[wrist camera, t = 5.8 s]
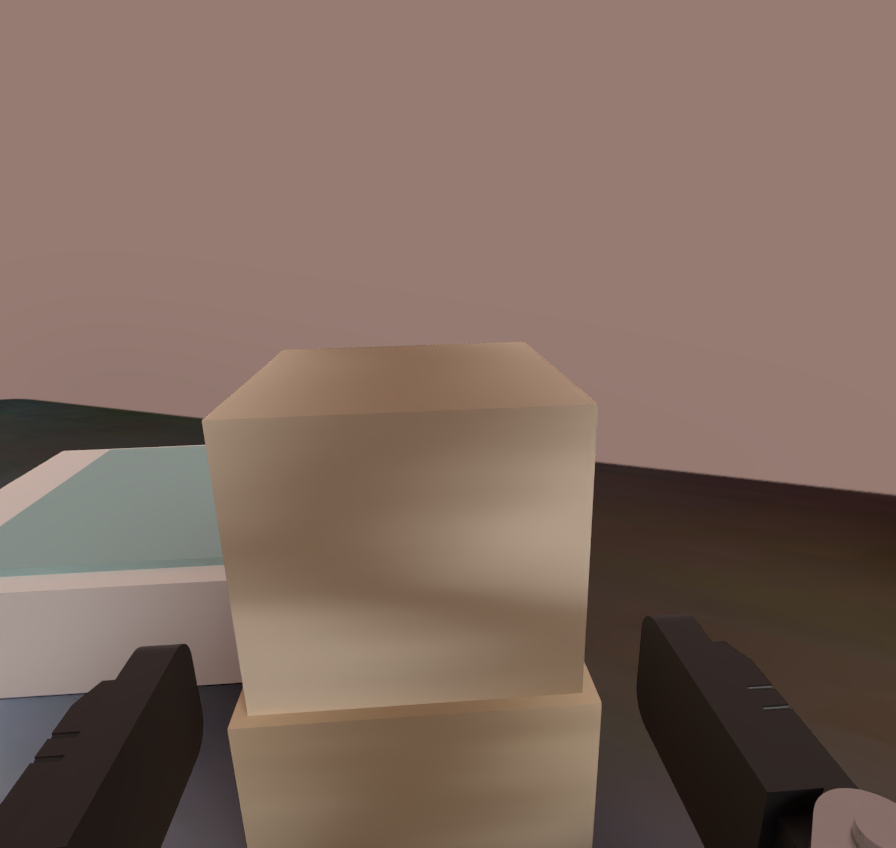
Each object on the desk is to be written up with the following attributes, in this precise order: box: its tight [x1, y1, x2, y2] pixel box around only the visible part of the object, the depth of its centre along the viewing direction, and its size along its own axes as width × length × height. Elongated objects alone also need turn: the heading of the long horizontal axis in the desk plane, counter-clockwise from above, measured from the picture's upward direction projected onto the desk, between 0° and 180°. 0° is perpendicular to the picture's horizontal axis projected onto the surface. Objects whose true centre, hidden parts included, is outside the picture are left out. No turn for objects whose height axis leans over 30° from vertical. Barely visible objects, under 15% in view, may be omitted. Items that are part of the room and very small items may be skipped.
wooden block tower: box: [202, 342, 602, 848], centre depth 10 cm, size 5×5×12 cm
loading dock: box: [0, 445, 242, 698], centre depth 26 cm, size 18×14×4 cm
